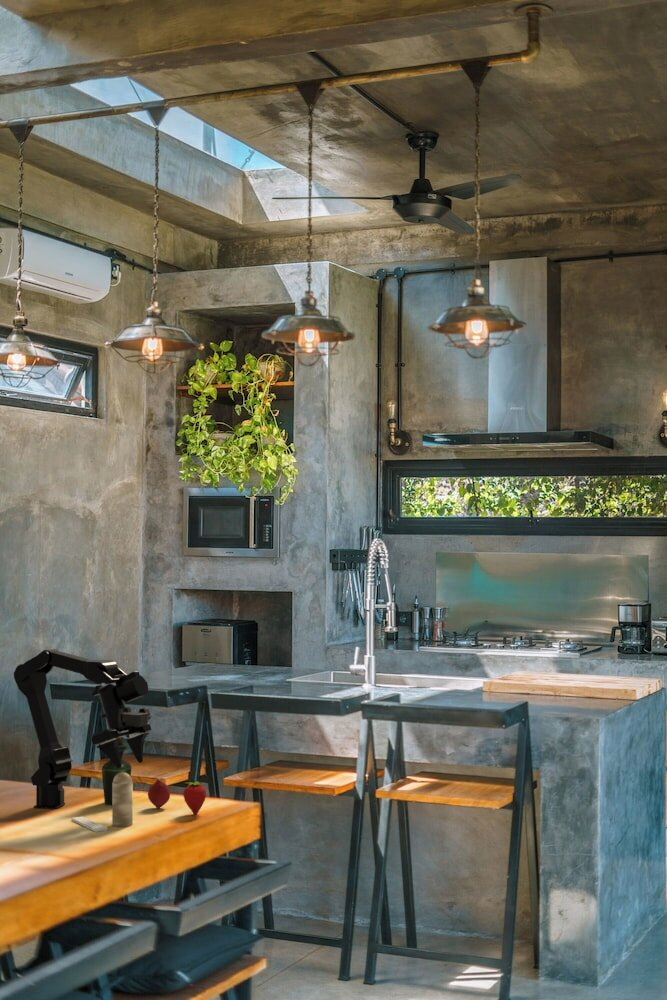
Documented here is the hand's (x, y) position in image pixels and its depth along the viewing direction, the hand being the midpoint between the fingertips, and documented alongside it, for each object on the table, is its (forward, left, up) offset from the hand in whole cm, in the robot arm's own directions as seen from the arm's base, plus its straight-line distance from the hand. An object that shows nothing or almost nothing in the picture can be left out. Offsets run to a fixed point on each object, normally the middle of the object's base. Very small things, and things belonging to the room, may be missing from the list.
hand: (130, 765), depth 316 cm
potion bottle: (-10, +15, -13) cm, 22 cm away
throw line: (-6, -13, -13) cm, 19 cm away
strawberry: (+16, +4, -13) cm, 21 cm away
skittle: (+2, -11, -13) cm, 17 cm away
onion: (+4, +10, -13) cm, 17 cm away
